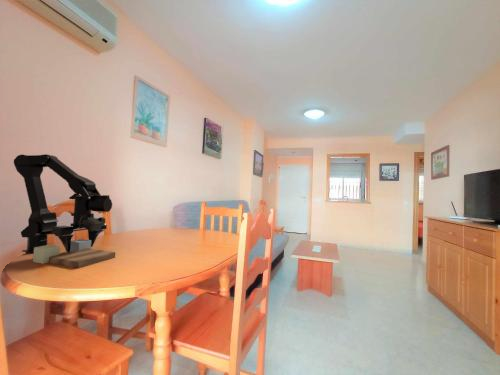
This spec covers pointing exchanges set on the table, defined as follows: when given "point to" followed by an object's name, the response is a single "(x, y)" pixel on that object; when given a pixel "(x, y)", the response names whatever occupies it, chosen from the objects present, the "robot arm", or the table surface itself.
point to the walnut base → (81, 257)
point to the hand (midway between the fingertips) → (80, 249)
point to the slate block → (80, 244)
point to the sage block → (45, 253)
